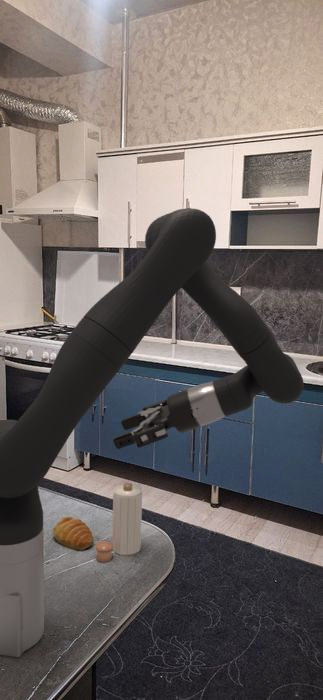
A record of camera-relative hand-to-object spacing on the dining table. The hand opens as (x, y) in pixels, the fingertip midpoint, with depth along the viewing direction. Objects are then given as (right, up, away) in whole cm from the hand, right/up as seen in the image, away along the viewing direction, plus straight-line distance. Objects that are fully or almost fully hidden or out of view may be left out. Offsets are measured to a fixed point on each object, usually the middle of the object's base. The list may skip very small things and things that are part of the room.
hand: (119, 434), depth 97 cm
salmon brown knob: (-3, -25, +1) cm, 25 cm away
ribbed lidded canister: (+1, -24, +5) cm, 25 cm away
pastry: (-10, -24, +8) cm, 27 cm away
